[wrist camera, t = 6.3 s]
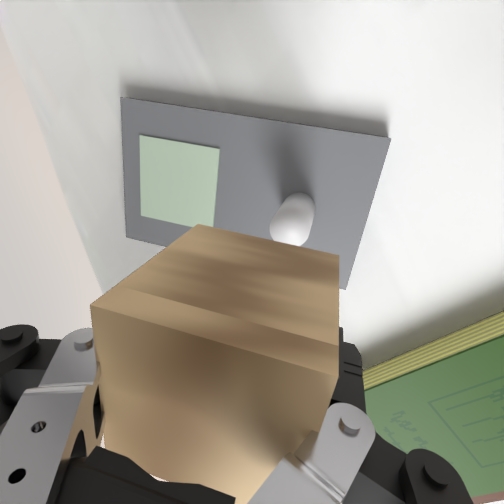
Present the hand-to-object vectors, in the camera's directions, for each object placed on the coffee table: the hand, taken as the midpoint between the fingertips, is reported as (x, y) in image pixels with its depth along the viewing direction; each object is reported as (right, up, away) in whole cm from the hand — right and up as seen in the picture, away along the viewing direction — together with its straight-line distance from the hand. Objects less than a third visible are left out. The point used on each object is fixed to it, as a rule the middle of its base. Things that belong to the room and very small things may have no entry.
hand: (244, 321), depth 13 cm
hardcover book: (+24, -14, +22) cm, 35 cm away
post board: (-1, +9, +18) cm, 20 cm away
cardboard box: (0, +1, +1) cm, 2 cm away
